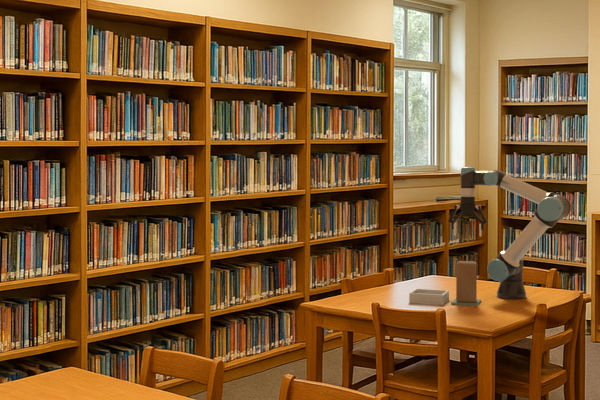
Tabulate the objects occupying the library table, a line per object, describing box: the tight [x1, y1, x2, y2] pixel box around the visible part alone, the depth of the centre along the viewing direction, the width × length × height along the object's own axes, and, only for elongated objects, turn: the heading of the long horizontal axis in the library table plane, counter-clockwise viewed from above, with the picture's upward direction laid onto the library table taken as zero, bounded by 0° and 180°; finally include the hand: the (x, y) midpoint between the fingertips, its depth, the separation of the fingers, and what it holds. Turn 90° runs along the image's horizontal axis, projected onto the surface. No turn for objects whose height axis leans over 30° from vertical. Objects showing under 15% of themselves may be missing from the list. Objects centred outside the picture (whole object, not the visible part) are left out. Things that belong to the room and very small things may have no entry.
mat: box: [450, 298, 482, 307], centre depth 426 cm, size 13×13×1 cm
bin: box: [408, 288, 450, 306], centre depth 432 cm, size 18×15×5 cm
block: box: [455, 260, 478, 303], centre depth 425 cm, size 10×10×20 cm
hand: (467, 235), depth 443 cm, fingers open, 13 cm apart
